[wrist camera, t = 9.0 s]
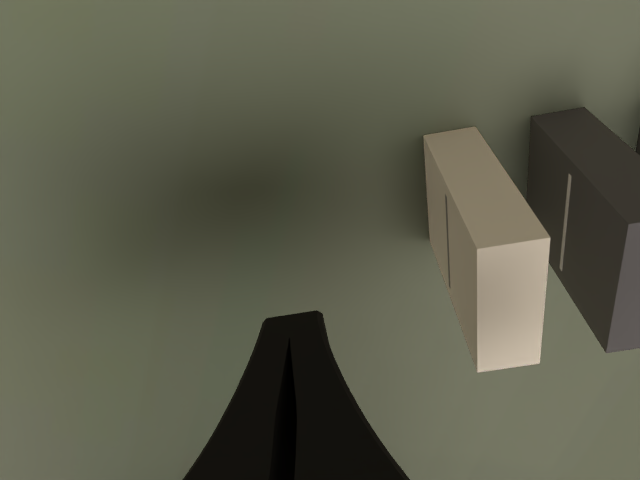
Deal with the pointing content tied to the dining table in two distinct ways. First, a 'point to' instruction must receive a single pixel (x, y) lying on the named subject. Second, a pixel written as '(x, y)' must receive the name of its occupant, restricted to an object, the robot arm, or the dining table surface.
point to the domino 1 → (486, 249)
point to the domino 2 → (590, 219)
